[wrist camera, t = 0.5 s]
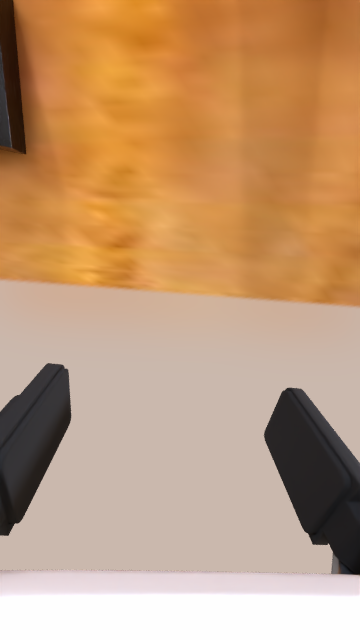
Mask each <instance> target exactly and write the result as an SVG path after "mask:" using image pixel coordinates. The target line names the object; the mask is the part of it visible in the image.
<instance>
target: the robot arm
mask: <svg viewBox="0 0 360 640" xmlns="http://www.w3.org/2000/svg"><path fill="white" fill-rule="evenodd" d="M69 390H70V389H69V373H68V369H64V366H63V365H60V364H50V363H48V364H46V365H45V366H44V368H43V369H42V370H41V371H40V372H39V373H38V374H37V376H36V377H35V378H34V379H33V380H32V381H31V383H30V384H29V385H28V386H27V387H26V388H25V389H24V391H23V392H22V393H21V394H20V395H17V396H15V397H14V398H13V399H11V400H10V402H9V403H8V404H7V405H6V406H5V407H4V408H3V409H2V411H1V412H0V535H4V536H8V535H9V533H10V531H11V529H12V528H13V526H14V524H15V523H19V522H20V521H21V520H22V519H23V516H24V515H25V513H26V511H27V509H28V507H29V505H30V503H31V501H32V499H33V497H34V495H35V493H36V490H37V489H38V487H39V484H40V482H41V481H42V479H43V477H44V475H45V473H46V471H47V469H48V467H49V465H50V463H51V460H52V459H53V456H54V455H55V453H56V451H57V448H58V446H59V444H60V442H61V440H62V438H63V436H64V434H65V432H66V430H67V428H68V426H69V424H70V421H71V405H70V391H69ZM264 437H265V441H266V444H267V446H268V448H269V451H270V453H271V455H272V458H273V460H274V462H275V465H276V467H277V469H278V472H279V474H280V476H281V479H282V481H283V483H284V486H285V488H286V490H287V492H288V495H289V497H290V500H291V502H292V504H293V507H294V509H295V512H296V514H297V516H298V518H299V521H300V523H301V526H302V528H303V529H304V531H305V532H306V533H308V534H309V537H310V539H311V541H312V543H313V545H315V544H316V545H328V543H329V545H330V547H331V549H332V551H333V559H332V571H331V574H313V573H312V574H311V573H267V572H266V573H265V572H210V571H209V572H208V571H140V570H139V571H138V570H137V571H136V570H4V571H2V570H0V640H360V463H359V462H358V460H357V459H356V458H355V456H354V455H353V454H352V453H351V451H350V450H349V449H348V448H347V446H346V445H345V444H344V443H343V441H342V440H341V438H340V437H339V436H338V435H337V433H336V432H335V431H334V429H333V428H332V427H331V426H330V424H329V423H328V422H327V421H326V419H325V418H324V417H323V415H322V414H321V413H320V411H319V410H318V409H317V408H316V406H315V405H314V404H313V402H312V401H311V400H310V399H309V397H308V396H307V395H306V393H305V392H304V391H303V390H302V389H297V388H287V389H286V390H285V391H283V392H282V393H281V396H280V398H279V400H278V403H277V405H276V407H275V409H274V411H273V414H272V416H271V418H270V421H269V423H268V425H267V427H266V430H265V433H264Z"/></svg>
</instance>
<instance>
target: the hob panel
mask: <svg viewBox="0 0 360 640" xmlns="http://www.w3.org/2000/svg"><path fill="white" fill-rule="evenodd" d="M0 149H2V150H7V151H11V152H16V153H21V154H26V147H25V135H24V124H23V113H22V101H21V90H20V79H19V67H18V56H17V44H16V33H15V22H14V10H13V0H0Z"/></svg>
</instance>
